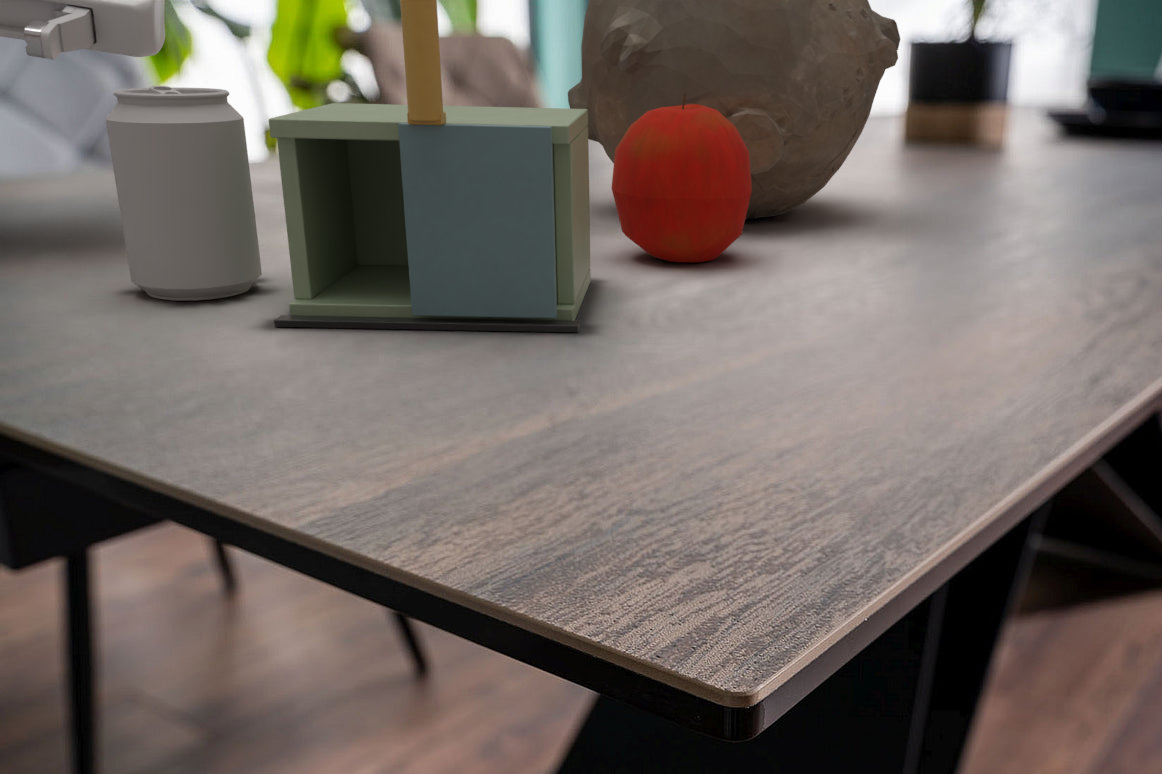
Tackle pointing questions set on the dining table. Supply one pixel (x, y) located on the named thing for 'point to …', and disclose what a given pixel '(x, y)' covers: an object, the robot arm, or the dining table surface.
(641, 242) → the apple
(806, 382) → the dining table surface
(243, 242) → the can
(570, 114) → the cabinet
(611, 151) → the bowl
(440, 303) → the door
